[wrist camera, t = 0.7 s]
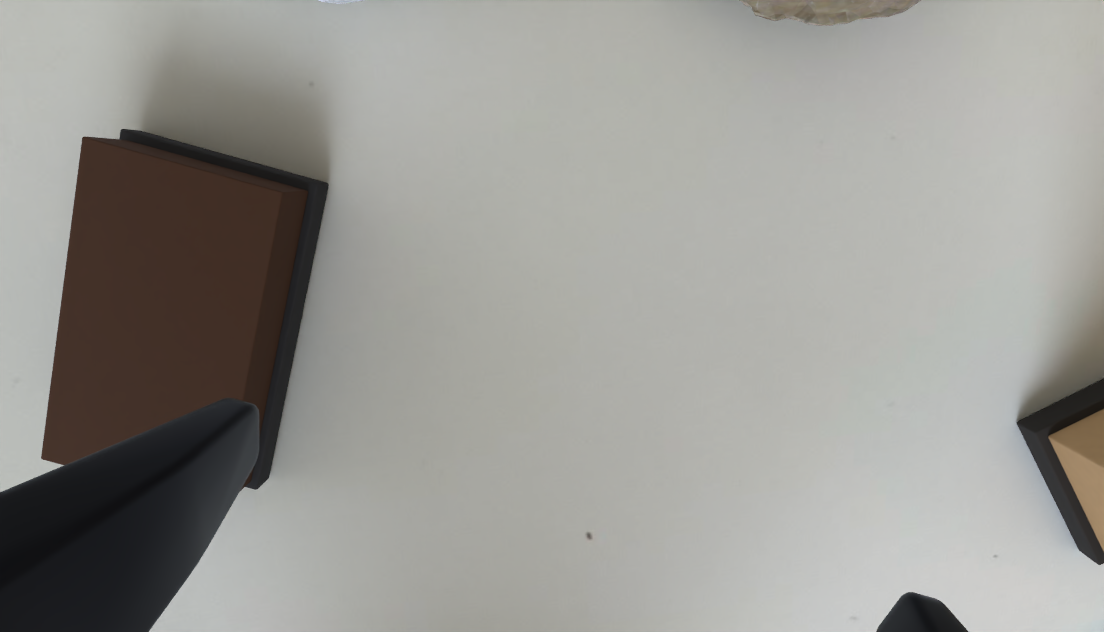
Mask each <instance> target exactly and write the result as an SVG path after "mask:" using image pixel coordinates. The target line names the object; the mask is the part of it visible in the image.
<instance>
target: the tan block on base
mask: <svg viewBox="0 0 1104 632" xmlns="http://www.w3.org/2000/svg"><path fill="white" fill-rule="evenodd" d="M1017 425H1018V427H1019V429H1020V431H1021V433H1022V435H1023V437H1024V439H1025V441H1026V443H1027V445H1028V447H1029V449H1030V451H1031V453H1032V455H1033V457H1034V459H1035V461H1036V463H1037V465H1038V467H1039V469H1040V472H1041V474H1042V476H1043V478H1044V480H1045V482H1046V484H1047V486H1048V488H1049V490H1050V492H1051V494H1052V496H1053V498H1054V500H1055V502H1056V504H1057V506H1058V508H1059V510H1060V512H1061V514H1062V516H1063V518H1064V520H1065V522H1066V525H1067V527H1068V529H1069V531H1070V533H1071V535H1072V537H1073V539H1074V541H1075V543H1076V545H1077V547H1078V549H1079V551H1081V552H1082V553H1083V554H1085V555H1086V556H1087V557H1089V558H1090V559H1091V560H1093V561H1094V562H1096V563H1097V564H1098V565H1101V564H1103V563H1104V379H1103V380H1101V381H1099V382H1097V383H1095V384H1093V385H1091V386H1089V387H1087V388H1085V389H1083V390H1081V391H1079V392H1077V393H1075V394H1073V395H1071V396H1069V397H1067V398H1065V399H1063V400H1061V401H1059V402H1056V403H1054V404H1052V405H1050V406H1048V407H1046V408H1044V409H1042V410H1040V411H1038V412H1036V413H1034V414H1032V415H1030V416H1028V417H1026V418H1024V419H1022V420H1020V421H1018V422H1017Z"/></svg>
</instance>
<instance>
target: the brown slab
mask: <svg viewBox="0 0 1104 632" xmlns="http://www.w3.org/2000/svg"><path fill="white" fill-rule="evenodd" d="M327 190H328V184H327V183H325V182H322V181H318V180H315V179H311V178H307V177H304V176H300V175H297V174H293V173H289V172H286V171H282V170H279V169H275V168H272V167H268V166H264V165H261V164H257V163H254V162H250V161H247V160H243V159H239V158H236V157H232V156H229V155H225V154H222V153H218V152H214V151H211V150H207V149H204V148H200V147H197V146H193V145H189V144H186V143H182V142H179V141H175V140H171V139H168V138H164V137H161V136H157V135H154V134H150V133H146V132H143V131H138V130H128V129H122V130H121V132H120V140H119V139H107V138H95V137H83V138H82V145H81V153H80V161H79V169H78V177H77V184H76V192H75V200H74V208H73V215H72V223H71V231H70V239H69V246H68V254H67V262H66V270H65V278H64V285H63V293H62V301H61V309H60V316H59V324H58V332H57V340H56V347H55V355H54V363H53V371H52V378H51V386H50V394H49V402H48V410H47V417H46V425H45V433H44V441H43V448H42V456H41V459H43V460H47V461H51V462H54V463H58V464H62V465H67V464H69V463H72V462H74V461H76V460H79V459H81V458H83V457H86V456H88V455H91V454H93V453H95V452H98V451H100V450H102V449H105V448H107V447H110V446H112V445H114V444H117V443H119V442H121V441H124V440H126V439H129V438H131V437H133V436H136V435H138V434H140V433H143V432H145V431H148V430H150V429H152V428H155V427H157V426H159V425H162V424H164V423H167V422H169V421H171V420H174V419H176V418H179V417H181V416H183V415H186V414H188V413H190V412H193V411H195V410H198V409H200V408H202V407H205V406H207V405H209V404H212V403H214V402H217V401H219V400H221V399H224V398H234V399H238V400H241V401H245V402H248V403H252V404H254V405H255V406H257V408H258V410H259V454H258V458H257V461H256V463H255V465H254V467H253V469H252V471H251V472H250V474H249V476H248V478H247V479H246V481H245V483H244V485H243V486H242V488H241V490H242V489H243V488H244V487H248V488H252V489H258V488H259V487H260V486H261V485H262V484H263V483H264V482H265V481H266V480H267V479H268V478H269V474H270V469H271V464H272V459H273V454H274V449H275V445H276V440H277V435H278V430H279V425H280V420H281V415H282V410H283V405H284V400H285V396H286V391H287V386H288V381H289V376H290V371H291V366H292V361H293V356H294V351H295V347H296V342H297V337H298V332H299V327H300V322H301V317H302V312H303V307H304V302H305V298H306V293H307V288H308V283H309V278H310V273H311V268H312V263H313V258H314V253H315V249H316V244H317V239H318V234H319V229H320V224H321V219H322V214H323V209H324V204H325V200H326V195H327ZM241 490H240V491H241Z"/></svg>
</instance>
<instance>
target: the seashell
mask: <svg viewBox="0 0 1104 632" xmlns="http://www.w3.org/2000/svg"><path fill="white" fill-rule="evenodd" d="M740 1H741V2H743V3H744V5H745V6H748V7H752V10H753V12H754V14H755V15H756V16H760V17H763V18H766V19H770V20H773V21H777V20H781V19H785V18H788V19H792V20H797V21H801V22H804V23H806V24H813V25H829V26H832V25H835V24H844V23H850V22H852V21H854V20H857V19H869V18H874V17H889V16H892V15H895V14H898V13H901V12H904V11H906V10H907V9H909V8H910V7H912V6H913V5H915V4H916V3H918V2H919V1H921V0H740Z"/></svg>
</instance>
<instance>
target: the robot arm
mask: <svg viewBox="0 0 1104 632" xmlns="http://www.w3.org/2000/svg"><path fill="white" fill-rule="evenodd" d="M258 454H259V410H258V408H257V406H255V405H254V404H252V403H248V402H245V401H241V400H238V399H234V398H224V399H221V400H219V401H217V402H214V403H212V404H209V405H207V406H205V407H202V408H200V409H198V410H195V411H193V412H190V413H188V414H186V415H183V416H181V417H179V418H176V419H174V420H171V421H169V422H167V423H164V424H162V425H159V426H157V427H155V428H152V429H150V430H148V431H145V432H143V433H140V434H138V435H136V436H133V437H131V438H129V439H126V440H124V441H121V442H119V443H117V444H114V445H112V446H110V447H107V448H105V449H102V450H100V451H98V452H95V453H93V454H91V455H88V456H86V457H83V458H81V459H79V460H76V461H74V462H72V463H69V464H67V465H64V466H62V467H60V468H57V469H55V470H52V471H50V472H48V473H45V474H43V475H41V476H38V477H36V478H33V479H31V480H29V481H26V482H24V483H22V484H19V485H17V486H14V487H12V488H10V489H7V490H5V491H3V492H0V632H149V630H150V629H151V628H152V626H153V625H154V623H155V622H156V621H157V619H158V618H159V617H160V615H161V614H162V612H163V611H164V610H165V608H166V607H167V606H168V604H169V603H170V601H171V600H172V599H173V597H174V596H175V595H176V593H177V592H178V590H179V589H180V588H181V586H182V585H183V584H184V582H185V581H186V579H187V578H188V577H189V575H190V574H191V572H192V571H193V569H194V568H195V566H196V565H197V564H198V562H199V560H200V559H201V557H202V555H203V554H204V552H205V551H206V549H207V547H208V546H209V544H210V542H211V540H212V539H213V537H214V535H215V533H216V532H217V530H218V528H219V526H220V525H221V523H222V521H223V519H224V518H225V516H226V514H227V512H228V511H229V509H230V507H231V505H232V504H233V502H234V500H235V499H236V497H237V495H238V493H239V492H240V490H241V488H242V486H243V485H244V483H245V481H246V479H247V478H248V476H249V474H250V472H251V471H252V469H253V467H254V465H255V463H256V461H257V458H258ZM877 632H968V631H967V630H966V628H965V627H964V626H963V625H962V624H961V623H960V622H959V620H958V619H957V618H956V617H955V616H954V615H953V614H952V612H951V611H950V610H949V609H948V608H947V607H946V606H945V605H944V604H943V603H942V602H941V601H939V600H937V599H935V598H931V597H928V596H924V595H921V594H917V593H914V592H908V593H906V594H904V595H902V596H901V598H900V599H899V600H898V601H897V603H896V604H895V605H894V607H893V608H892V609H891V611H890V612H889V613H888V615H887V616H886V617H885V619H884V620H883V621H882V623H881V624H880V625H879V627H878V629H877Z"/></svg>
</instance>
